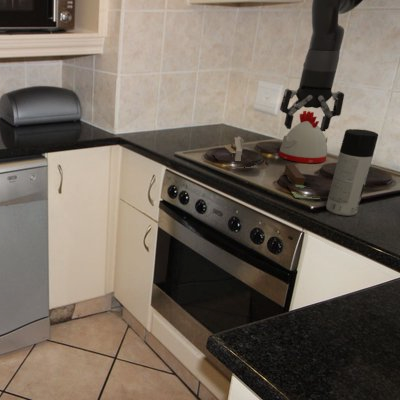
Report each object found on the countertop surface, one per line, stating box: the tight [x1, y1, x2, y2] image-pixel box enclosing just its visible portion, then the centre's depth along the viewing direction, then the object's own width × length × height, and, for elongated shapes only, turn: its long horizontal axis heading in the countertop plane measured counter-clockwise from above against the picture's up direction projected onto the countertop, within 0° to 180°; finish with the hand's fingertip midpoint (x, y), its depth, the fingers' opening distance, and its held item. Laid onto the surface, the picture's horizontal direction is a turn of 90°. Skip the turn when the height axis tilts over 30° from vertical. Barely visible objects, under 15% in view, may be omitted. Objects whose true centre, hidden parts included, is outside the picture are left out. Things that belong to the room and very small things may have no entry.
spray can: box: [325, 128, 379, 217], centre depth 114 cm, size 7×7×20 cm
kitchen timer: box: [278, 110, 328, 164], centre depth 156 cm, size 14×14×15 cm
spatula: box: [283, 163, 321, 200], centre depth 133 cm, size 21×6×3 cm, turn 167°
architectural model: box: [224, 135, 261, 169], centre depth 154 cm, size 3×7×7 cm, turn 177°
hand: (305, 129), depth 129 cm, fingers open, 8 cm apart
